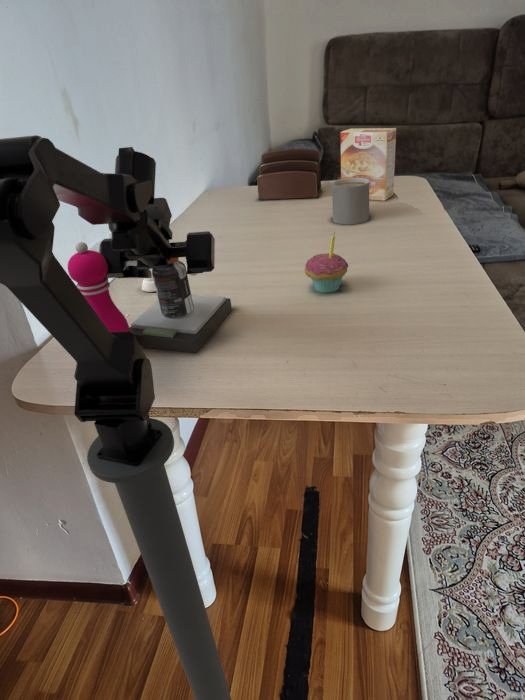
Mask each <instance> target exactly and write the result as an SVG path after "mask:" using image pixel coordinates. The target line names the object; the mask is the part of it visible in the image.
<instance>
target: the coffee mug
mask: <svg viewBox="0 0 525 700" xmlns="http://www.w3.org/2000/svg"><path fill="white" fill-rule="evenodd" d="M369 190H370V181H369V180H368V179H365V178H345V179H341V178H340V179H337V180H333V181H332V182H331V195H332V196H331V197H332V199H331V200H332V222H334V223H335V224H339V225H358V224H363V223H365V222H367V221H368V220H369V219H370V200H369Z"/></svg>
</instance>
